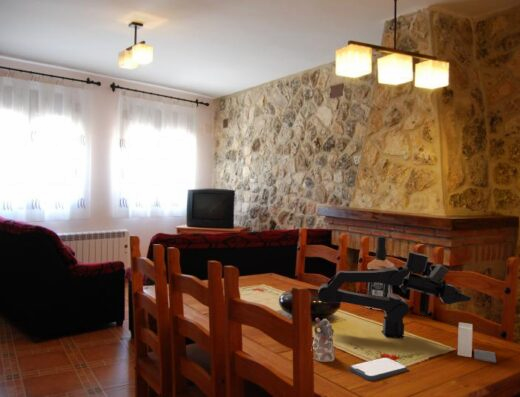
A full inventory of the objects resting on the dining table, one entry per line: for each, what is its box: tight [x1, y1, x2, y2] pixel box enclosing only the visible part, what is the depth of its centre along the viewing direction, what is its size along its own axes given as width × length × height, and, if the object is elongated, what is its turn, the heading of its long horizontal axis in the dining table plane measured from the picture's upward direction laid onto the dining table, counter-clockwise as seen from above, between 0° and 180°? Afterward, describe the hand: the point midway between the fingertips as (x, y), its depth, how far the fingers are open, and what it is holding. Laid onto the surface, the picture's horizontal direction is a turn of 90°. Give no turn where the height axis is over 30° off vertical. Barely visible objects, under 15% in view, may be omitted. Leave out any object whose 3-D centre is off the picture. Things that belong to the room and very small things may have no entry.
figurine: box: [312, 317, 336, 363], centre depth 131 cm, size 7×7×12 cm
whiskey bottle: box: [364, 235, 395, 311], centre depth 191 cm, size 10×10×32 cm
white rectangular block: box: [457, 322, 473, 358], centre depth 138 cm, size 4×6×9 cm, turn 154°
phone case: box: [349, 357, 408, 382], centre depth 123 cm, size 9×2×16 cm
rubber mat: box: [473, 348, 497, 363], centre depth 136 cm, size 6×8×1 cm
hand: (465, 296), depth 150 cm, fingers open, 9 cm apart
